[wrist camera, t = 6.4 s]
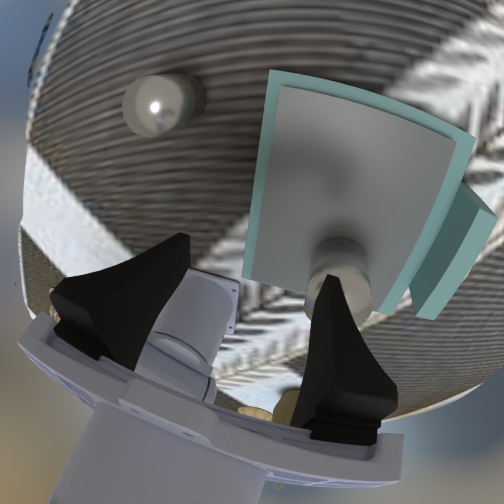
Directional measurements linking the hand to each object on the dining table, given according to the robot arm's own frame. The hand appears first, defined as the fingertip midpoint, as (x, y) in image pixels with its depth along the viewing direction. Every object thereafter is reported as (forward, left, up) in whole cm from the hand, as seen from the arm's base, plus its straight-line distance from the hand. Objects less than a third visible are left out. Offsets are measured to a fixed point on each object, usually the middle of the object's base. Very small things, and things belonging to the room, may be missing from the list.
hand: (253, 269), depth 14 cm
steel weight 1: (+6, +10, -10) cm, 16 cm away
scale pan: (0, -5, -8) cm, 9 cm away
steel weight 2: (-3, -5, -7) cm, 9 cm away
